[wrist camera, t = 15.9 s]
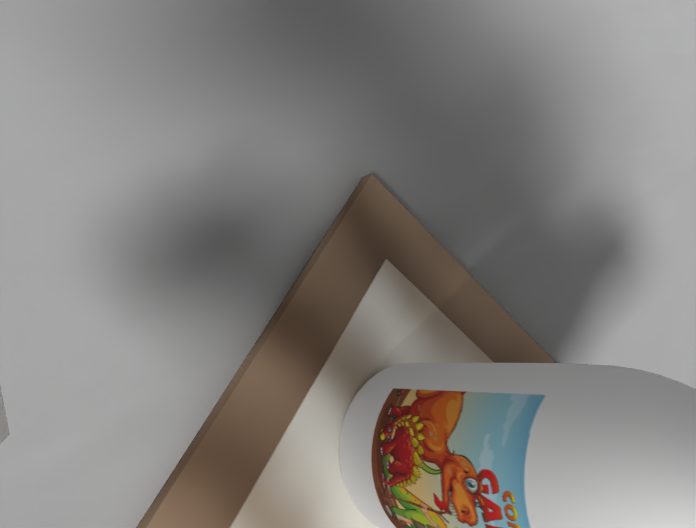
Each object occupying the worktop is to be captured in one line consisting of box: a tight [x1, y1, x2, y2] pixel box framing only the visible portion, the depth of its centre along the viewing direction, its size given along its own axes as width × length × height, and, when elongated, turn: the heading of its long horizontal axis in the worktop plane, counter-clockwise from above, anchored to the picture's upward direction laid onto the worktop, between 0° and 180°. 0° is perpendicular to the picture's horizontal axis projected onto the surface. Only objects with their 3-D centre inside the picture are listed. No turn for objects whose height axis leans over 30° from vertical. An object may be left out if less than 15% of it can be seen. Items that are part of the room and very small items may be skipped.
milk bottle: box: [339, 363, 696, 528], centre depth 23 cm, size 8×8×20 cm
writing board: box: [137, 174, 556, 528], centre depth 32 cm, size 20×18×1 cm
